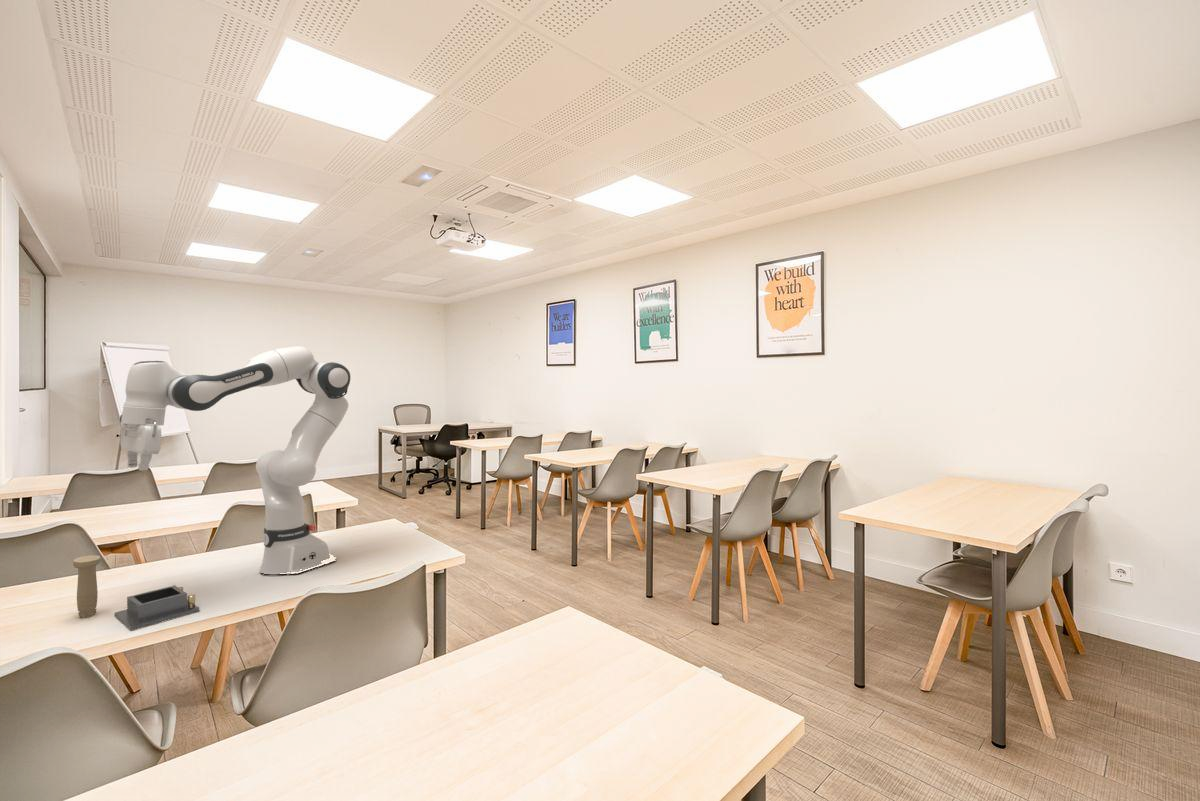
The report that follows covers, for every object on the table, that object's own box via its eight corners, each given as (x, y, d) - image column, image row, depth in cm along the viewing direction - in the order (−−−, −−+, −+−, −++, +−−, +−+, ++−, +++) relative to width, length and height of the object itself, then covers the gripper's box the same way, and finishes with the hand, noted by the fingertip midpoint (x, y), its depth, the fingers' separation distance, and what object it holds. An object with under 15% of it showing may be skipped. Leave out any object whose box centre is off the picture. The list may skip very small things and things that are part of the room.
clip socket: (180, 598, 146) (180, 581, 146) (199, 611, 138) (199, 592, 138) (114, 616, 135) (114, 597, 135) (130, 630, 127) (130, 610, 127)
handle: (77, 622, 131) (76, 563, 131) (71, 615, 135) (71, 558, 135) (103, 615, 135) (102, 558, 135) (97, 609, 139) (96, 554, 139)
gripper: (171, 420, 139) (165, 471, 138) (146, 417, 151) (140, 465, 150) (140, 418, 134) (134, 472, 133) (117, 416, 145) (111, 465, 144)
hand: (137, 468), depth 141 cm, fingers open, 8 cm apart
